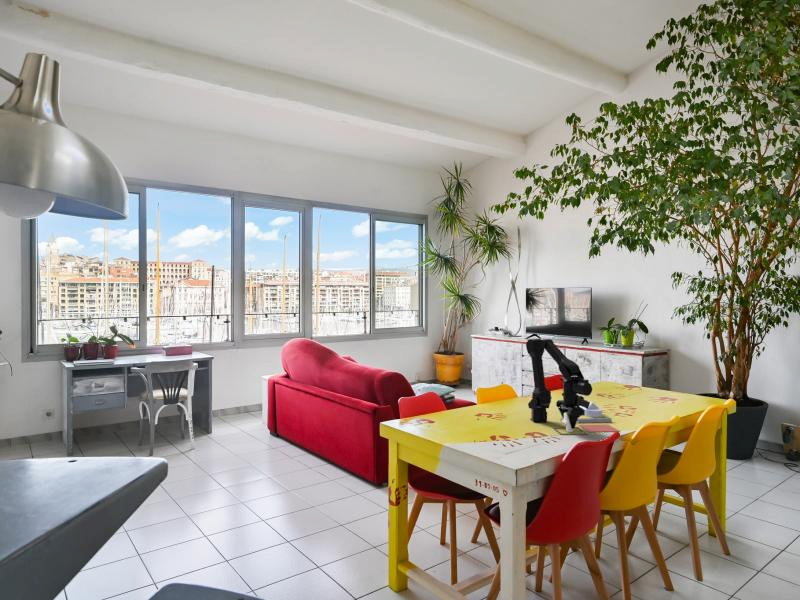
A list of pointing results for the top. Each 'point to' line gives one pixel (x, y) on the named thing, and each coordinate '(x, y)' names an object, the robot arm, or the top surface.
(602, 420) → the rail
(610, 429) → the pad
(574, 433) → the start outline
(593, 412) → the wedge on round base
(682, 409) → the top surface
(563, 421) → the pipe fitting
